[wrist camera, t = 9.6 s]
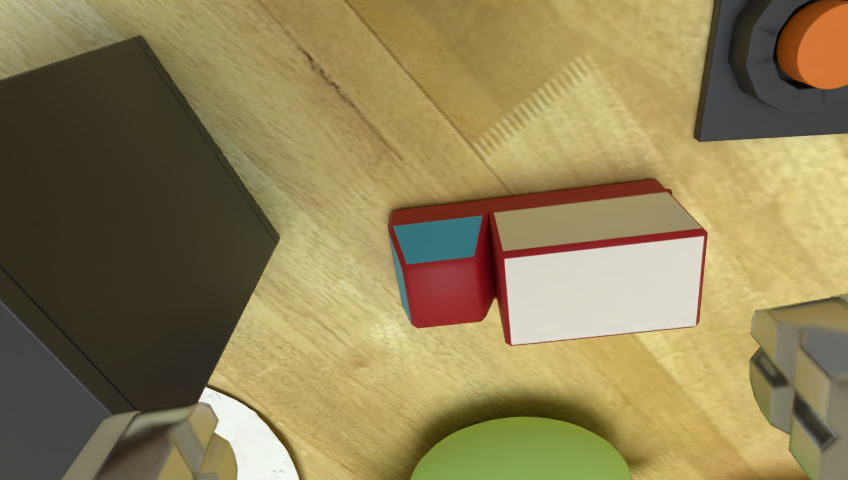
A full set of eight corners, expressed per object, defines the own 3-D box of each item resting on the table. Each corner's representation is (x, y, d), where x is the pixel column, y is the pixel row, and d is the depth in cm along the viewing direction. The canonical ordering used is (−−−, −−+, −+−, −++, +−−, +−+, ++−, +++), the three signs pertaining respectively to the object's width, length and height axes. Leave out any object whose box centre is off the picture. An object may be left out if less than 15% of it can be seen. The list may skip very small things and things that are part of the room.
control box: (726, -75, 26) (753, -77, 24) (907, -88, 26) (951, -91, 24) (693, 138, 31) (713, 153, 29) (847, 129, 31) (879, 144, 28)
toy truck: (388, 209, 33) (380, 268, 27) (658, 176, 32) (710, 230, 26) (403, 291, 35) (398, 361, 29) (653, 263, 34) (700, 329, 28)
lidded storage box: (-17, 128, 31) (-390, 282, 17) (141, 34, 29) (-136, 122, 15) (136, 306, 36) (-51, 539, 22) (280, 238, 34) (175, 449, 20)
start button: (785, 1, 26) (808, 5, 24) (868, -4, 26) (896, -1, 24) (768, 83, 27) (789, 91, 26) (846, 78, 27) (871, 87, 26)
